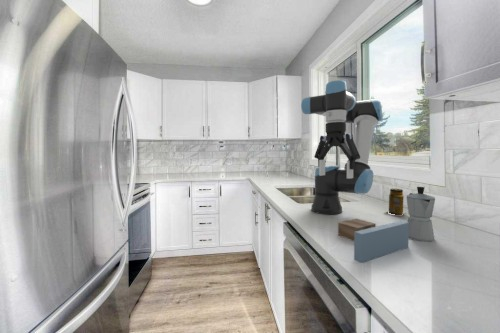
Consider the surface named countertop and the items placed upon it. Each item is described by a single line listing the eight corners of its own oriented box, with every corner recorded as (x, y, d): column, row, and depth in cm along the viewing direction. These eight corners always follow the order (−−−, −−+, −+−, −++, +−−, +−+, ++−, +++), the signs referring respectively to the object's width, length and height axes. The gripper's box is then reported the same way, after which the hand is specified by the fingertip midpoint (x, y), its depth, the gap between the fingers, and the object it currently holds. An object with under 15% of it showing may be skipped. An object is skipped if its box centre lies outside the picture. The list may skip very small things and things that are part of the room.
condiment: (405, 213, 120) (406, 189, 119) (400, 216, 114) (401, 191, 113) (389, 211, 125) (389, 187, 124) (383, 214, 119) (384, 189, 118)
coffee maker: (443, 244, 80) (445, 189, 79) (413, 243, 82) (415, 189, 80) (421, 230, 94) (422, 183, 93) (396, 229, 96) (397, 183, 95)
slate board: (400, 244, 80) (400, 220, 80) (408, 247, 78) (408, 222, 77) (354, 259, 70) (354, 231, 69) (361, 262, 68) (362, 234, 67)
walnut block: (355, 231, 95) (356, 218, 95) (375, 237, 88) (375, 223, 88) (338, 235, 90) (338, 222, 90) (357, 242, 83) (357, 228, 83)
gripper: (305, 125, 104) (306, 174, 106) (357, 117, 83) (356, 180, 84) (318, 125, 108) (318, 173, 109) (371, 119, 86) (370, 178, 88)
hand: (335, 176), depth 97 cm, fingers open, 13 cm apart
